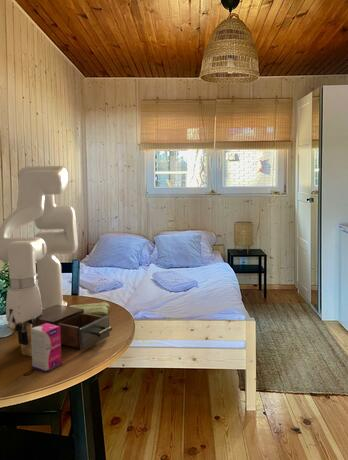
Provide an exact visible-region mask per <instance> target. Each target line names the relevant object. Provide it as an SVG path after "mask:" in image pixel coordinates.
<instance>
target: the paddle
mask: <svg viewBox="0 0 348 460" xmlns="http://www.w3.org/2000/svg"><path fill="white" fill-rule="evenodd" d="M31 329H32V324H30V323H26V324H25V331H26V332H27V338H28V344H27V345H23V344H20V350H21V351H20V352H21V355H23V356H28V357H31V358H32V342H31Z"/></svg>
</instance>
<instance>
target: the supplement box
mask: <svg viewBox="0 0 348 460" xmlns="http://www.w3.org/2000/svg"><path fill="white" fill-rule="evenodd" d="M31 342H32V357H31V363H32V364H31V365H32V369H35V370H38V371H41V372H43V373H47V372H49V371H51V370H53V369H55V368H57V367H59V366H61V365H62V344H61V338H60V326H56V325H52V324H49V323H45V324H43V325H40V326H37V327H34V328H32V329H31Z"/></svg>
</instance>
